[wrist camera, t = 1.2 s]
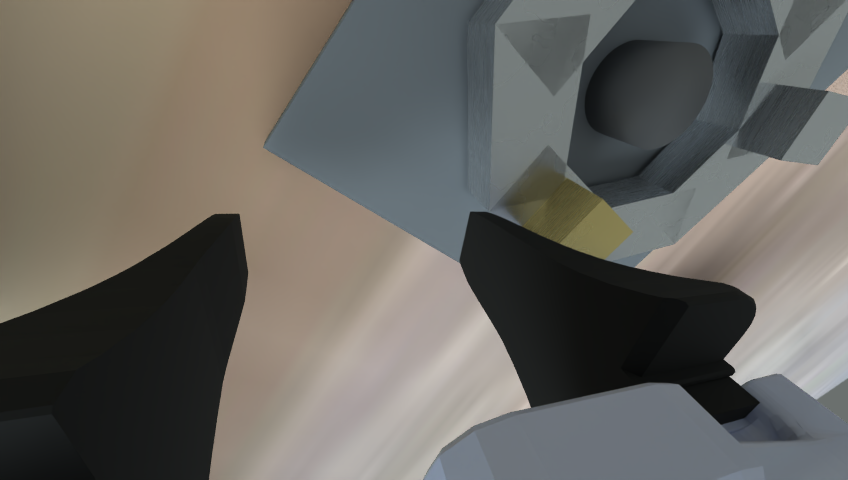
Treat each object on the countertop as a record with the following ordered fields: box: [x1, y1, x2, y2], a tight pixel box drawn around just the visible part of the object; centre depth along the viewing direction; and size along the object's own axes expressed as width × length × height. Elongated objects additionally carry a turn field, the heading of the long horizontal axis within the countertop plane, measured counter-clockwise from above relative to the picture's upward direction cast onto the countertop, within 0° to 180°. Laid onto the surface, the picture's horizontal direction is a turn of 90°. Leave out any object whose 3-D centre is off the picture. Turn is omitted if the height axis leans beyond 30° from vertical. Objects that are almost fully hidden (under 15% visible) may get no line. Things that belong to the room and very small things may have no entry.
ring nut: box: [467, 0, 848, 261], centre depth 12 cm, size 14×14×4 cm
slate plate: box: [263, 0, 848, 268], centre depth 14 cm, size 20×20×3 cm
